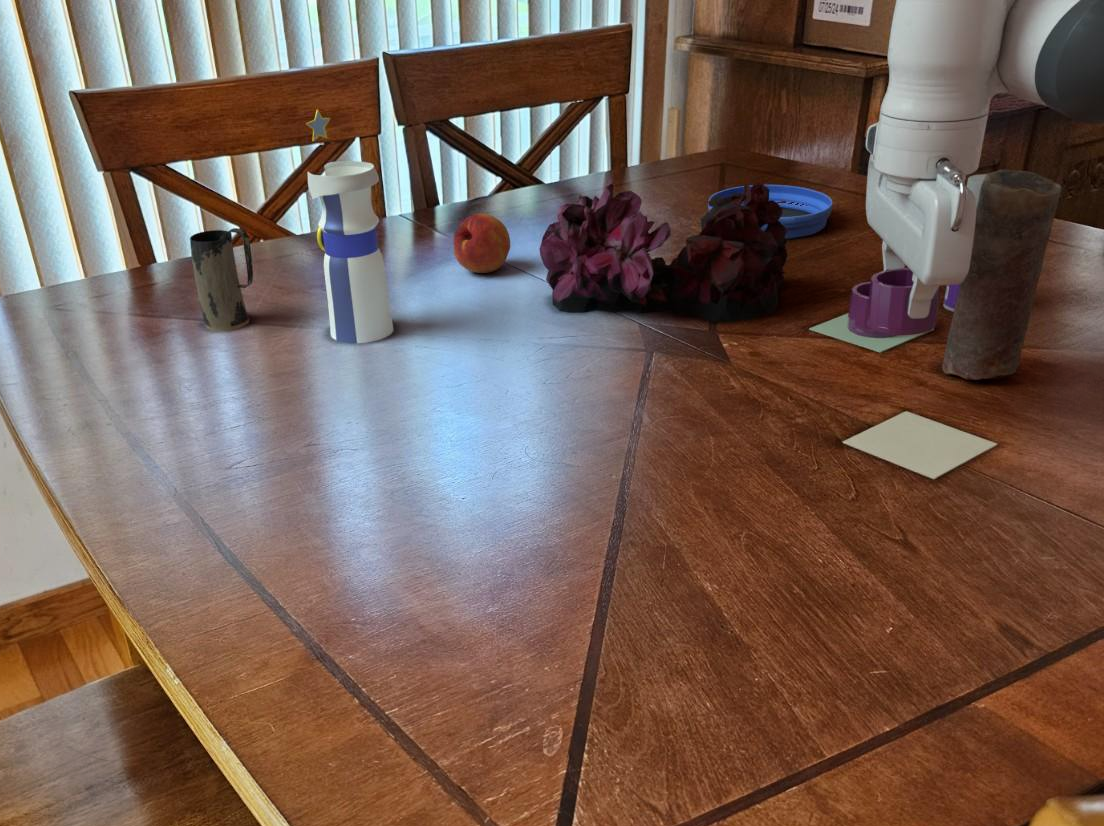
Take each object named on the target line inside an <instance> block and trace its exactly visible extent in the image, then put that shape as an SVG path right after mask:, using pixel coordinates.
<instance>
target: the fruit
mask: <svg viewBox="0 0 1104 826" xmlns="http://www.w3.org/2000/svg"><path fill="white" fill-rule="evenodd" d="M510 237H511V236H510V234H509V231H508V229H507V227H506V226H505V224H504V223H503V222H502V221H501V220H500V219H498V218H496V217H495V216H493V215H491V214H487V213H484V212H481V213H479V212H478V213H473V214H471V215H470V216H468V217H466V218H465V219H464V220H463V221H462V222H461V223H460V225H459V226H458V228H457V229H455V231H454V233H453V251H454V257H455V259H456V261H457V262H458V264H459V265H460V266H462V268H464V269H465V270H467V271H470V272H472V273H476V274H488V273H493V272H496V271H498V270H499V269H501V267H502V266H503V265H504V264H505V262H506V261H507V258H508V255H509V252H510V250H511V238H510Z"/></svg>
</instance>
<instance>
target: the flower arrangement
mask: <svg viewBox="0 0 1104 826" xmlns="http://www.w3.org/2000/svg"><path fill="white" fill-rule="evenodd" d="M606 184H607V186H606V187H605V189H604V190H603V192H602V194H601V195H600V198H599V197H598V196H597V195H594V197H593V198H591V197H589V196H587V195H581V194H579V195H578V201H576V202H574V203H566V204H562V205H559V206H558V207H557V218H556V219H557V221H556V222H553V223H551V224H549V225H548V227H547V229H546V230H545V232H544V233H543V236H542V238H541V243H540V245H539V256H540V259H541V260H542V264H543V266H544V267H545V268H546V269H547V274H546V277H545V280H546V282H547V284H548V285H549V288H551V290H552V292H551V294H552V295H551V299H552V306H553V307H555V308H556V309H557V310H558V311H559V312H563V313H568V314H585V313H588V312H594V311H600V312H601V311H602V312H611V313H619V312H620V313H622V312H624V313H625V312H635V313H638V314H645V313H650V312H669V313H673V314H677V315H683V316H687V317H688V316H689V317H692V318H693V317H694V318H698V319H701V320H705V321H710V322H713V323H734V322H741V321H746V320H752V319H757V318H759V319H760V318H762V317H765V316H768V315H770V314H772V313H773V312H774V311H775V310H777V309H778V303H779V296H778V291H779V290H780V289H781V288H783V282H784V281H783V280H784V279H785V277H784V275H783V274H786V271H783V270H784V269H783V267H784V266H785V265H786V262H787V259H788V252H787V247H786V244H787V243H788V242H787V239H785V235H786V233H787V231H788V230H787V229H785V227H784V226H783V225H782V224H781V223H780V222H779V221H778V220H779V218H780V217H781V215H782V213H783V209H782V208H781V207H780V206H779V204H778V203H777V202H775V201H773V200H770V201H769V189H768V188H767V187H766V186H765V185H766V184H763V182H760V181H758V180H757V181H756V183H755V184H754V185H753V184H752V185H753V186H752V188H751V189H750V187H749V186H750V184H748V183H747V184H745V185H743V186H744V191H743V193H734V194H732V195H730V196H728V197H716V196H715V197H714V198H713V199H711V200H710V201H709V200H708V201H707V202H708V203H709V206H711V207H713V208H712V209H711V210H710V211H709V210H708V211H707V213H706V214H705V215H704V216H703V217H702V218H701V219H700V226H701V231H700V232H699V234H694V235H692V236H688V237H687V238H686V239H685V246H684V247H682V248H681V250H680V251H679V253H678V254H677V257H675V258H673V259H672V261H671V263H670V264H667V263H666V260H665V259H664V257H663V256H661V257H659V256H658V257H657V256H656V257H655V258H652V257H651V255H650V253H649V252H651V251H653V250H655V249H658V248H661V247H662V246H663V245H664V244H665V242H666V241H667V240H668V239H669V238H670V237H671V226H670V224H669V223H668V221H666V222H663V223H661V225H659V226H658V227H657V228H656V229H655V230H653V231H651V232H649V231H650V230H651V229H652V227H653V226H654V225H655V224H656V222H655V221H654V220H650V221H648V216H646V215H644V214H643V213H642V212H641V206H642V204H643V203H642V202H643V200H642V198H641V196H639V195H638V194H637V193H635V192H633V191H632V190H626V191H621V192H618V193H617V194H616V195H615V196H614V188H615V187H614V184H613V173H611V174H610V175H609V177H608V178H607V183H606ZM743 202H744V206H743V205H741V204H742V203H743ZM765 224H768V226H767V228H766V230H765V231H763V230H761V227H762V226H763V225H765Z"/></svg>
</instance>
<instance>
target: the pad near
mask: <svg viewBox="0 0 1104 826" xmlns="http://www.w3.org/2000/svg"><path fill="white" fill-rule="evenodd" d="M842 444H844V445H847V446H850V447H852V448H854V449H857V450H859V451H861V452H864V453H867V454H869V455H872V456H874V457H876V458H879V459H882V460H884V461H887V462H889V463H892V464H894V465H896V466H899V467H902V468H905V469H907V470H909V471H912V472H914V473H916V474H919V475H922V476H924V477H927V478H928V479H929V478H930V479H932V480H937V479H938V478H940V477H942V476H943V475H945V474H947V473H949V472H951V471H953V470H955V469H957V468H958V467H960V466H962V465H965V464H966V463H968V462H969V461H971V460H974V459H976V458H977V457H979V456H980V455H982V454H985V453H986V452H988V451H990V450H991V449H994V448H995V447H997V446H998V444H999V443H996V442H994V441H991V440H988V439H985V438H982V437H980V436H976V435H974V434H971V433H969V432H965V431H963V430H960V429H957V428H954V427H952V426H949V425H946V424H944V423H941V422H938V421H935V420H932V419H930V418H926V417H924V416H921V415H918V414H916V413H913V412H910V411H907V410H905V411H903V412H901V413H898V414H896V415H895V416H893V417H891V418H889V419H886V420H885V421H883V422H881V423H878V424H877V425H874V426H872V427H870V428H868V429H866V430H864V431H861V432H860V433H858V434H856V435H853V436H851V437H848V438H847V439H845V440H843V441H842Z"/></svg>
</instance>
